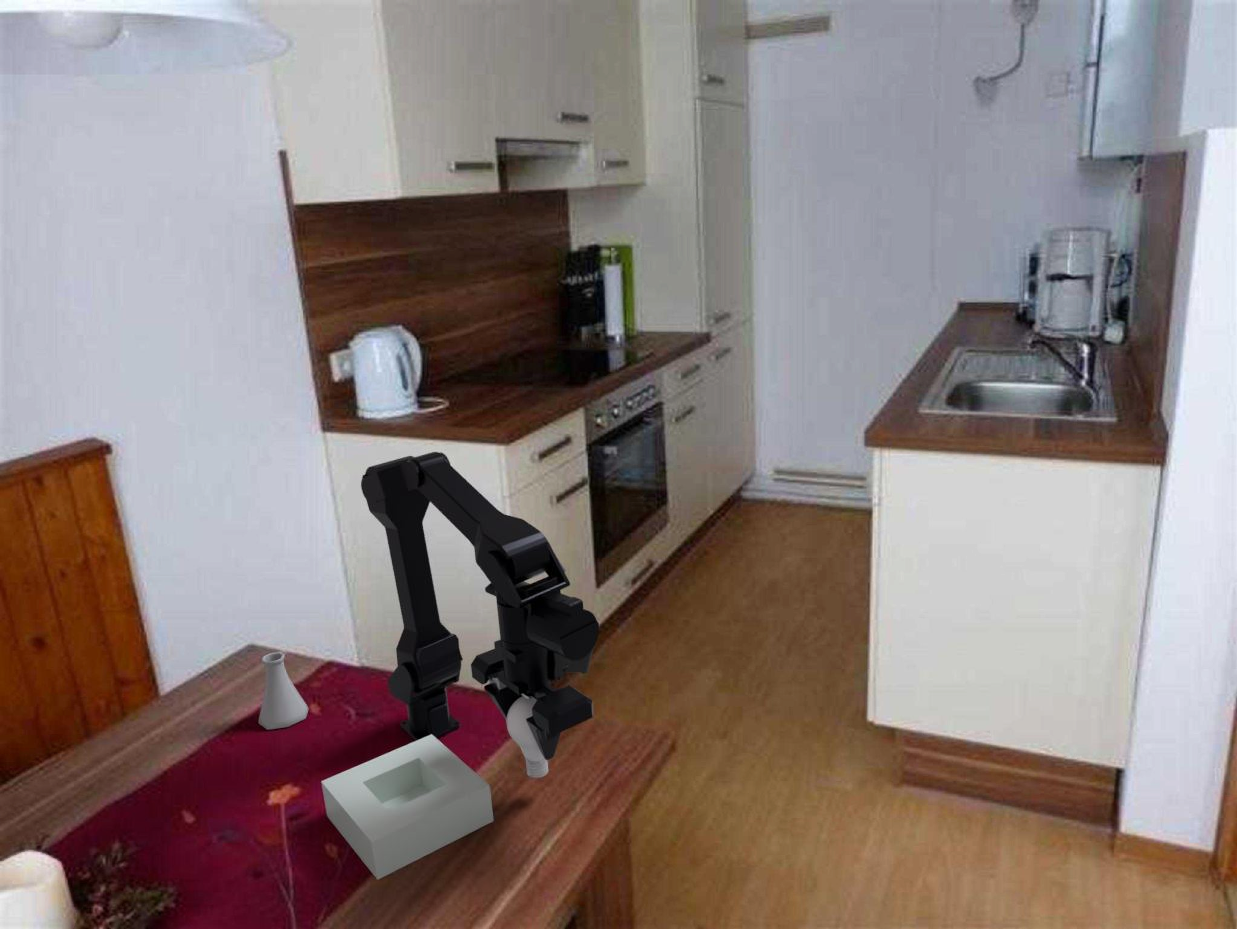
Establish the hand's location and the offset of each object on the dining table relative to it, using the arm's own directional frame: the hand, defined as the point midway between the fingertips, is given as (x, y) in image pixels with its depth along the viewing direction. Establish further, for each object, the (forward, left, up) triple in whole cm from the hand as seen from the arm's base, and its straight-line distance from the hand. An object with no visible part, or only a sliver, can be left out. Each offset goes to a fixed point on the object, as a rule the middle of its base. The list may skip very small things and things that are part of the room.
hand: (535, 747), depth 116 cm
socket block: (-7, -14, -7) cm, 17 cm away
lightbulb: (0, 0, -4) cm, 4 cm away
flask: (-42, -18, -7) cm, 46 cm away
